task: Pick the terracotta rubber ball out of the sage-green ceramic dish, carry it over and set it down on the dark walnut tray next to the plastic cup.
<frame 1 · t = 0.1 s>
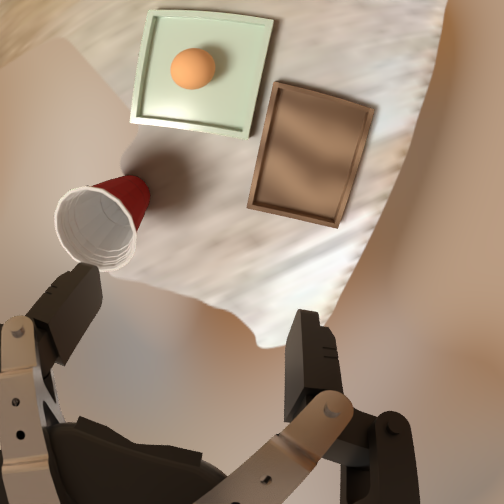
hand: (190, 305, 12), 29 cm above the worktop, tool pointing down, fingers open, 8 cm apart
dish: (199, 69, 32), on the worktop
ball: (198, 69, 31), point 1 cm above the worktop, touching dish
plastic cup: (134, 194, 41), on the worktop
tray: (308, 155, 36), on the worktop
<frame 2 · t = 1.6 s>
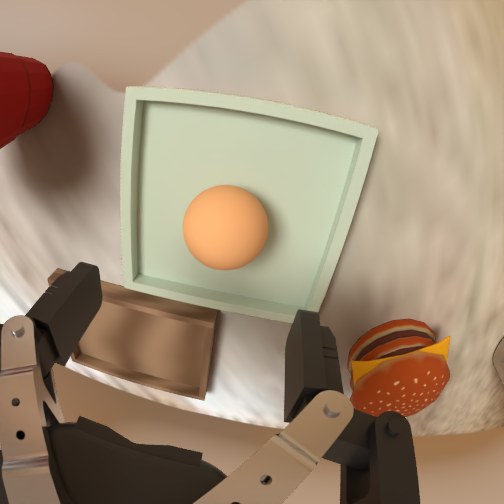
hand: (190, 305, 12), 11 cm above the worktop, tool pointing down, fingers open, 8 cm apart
hamburger: (391, 349, 27), on the worktop
dish: (232, 207, 21), on the worktop
ball: (231, 211, 20), point 1 cm above the worktop, touching dish
plastic cup: (30, 96, 17), on the worktop
tray: (133, 334, 28), on the worktop
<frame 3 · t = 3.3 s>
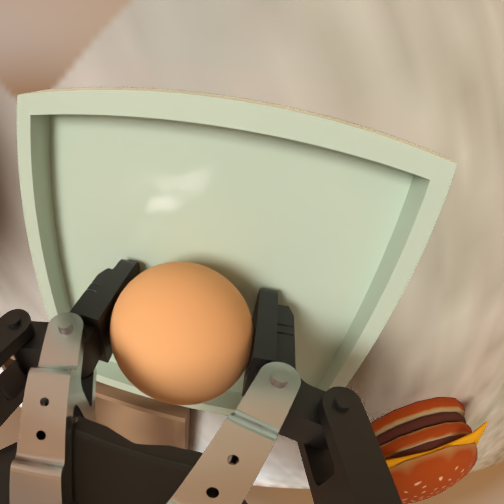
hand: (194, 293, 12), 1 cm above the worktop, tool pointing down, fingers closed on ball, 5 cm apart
hamburger: (411, 424, 19), on the worktop
dish: (199, 282, 13), on the worktop
ball: (196, 290, 12), point 1 cm above the worktop, touching dish, gripper
tray: (95, 404, 20), on the worktop
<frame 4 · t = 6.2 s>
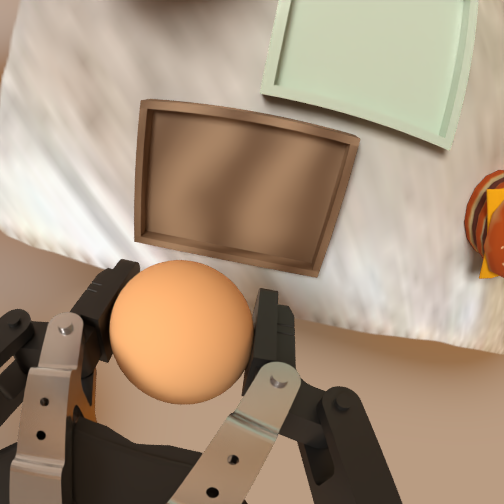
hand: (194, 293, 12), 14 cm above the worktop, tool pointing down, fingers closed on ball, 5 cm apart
hamburger: (496, 210, 23), on the worktop
dish: (378, 29, 17), on the worktop
ball: (196, 289, 12), point 14 cm above the worktop, touching gripper
tray: (237, 184, 24), on the worktop
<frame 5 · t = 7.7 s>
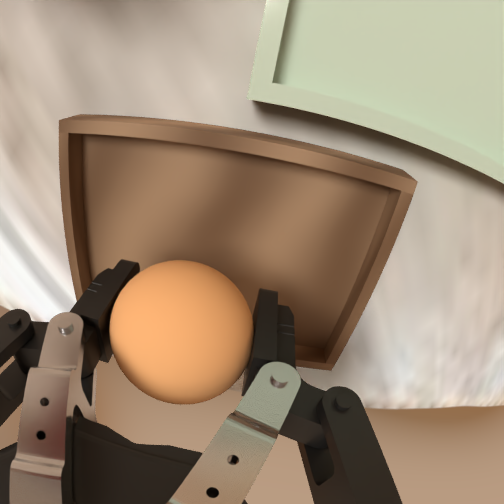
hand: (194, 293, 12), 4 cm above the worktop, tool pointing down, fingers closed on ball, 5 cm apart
dish: (439, 3, 8), on the worktop
ball: (196, 289, 12), point 4 cm above the worktop, touching gripper
tray: (215, 245, 16), on the worktop
when the fingers open (2 cm above the worktop, at t = 9.0 s): ball drops 2 cm, resting on tray.
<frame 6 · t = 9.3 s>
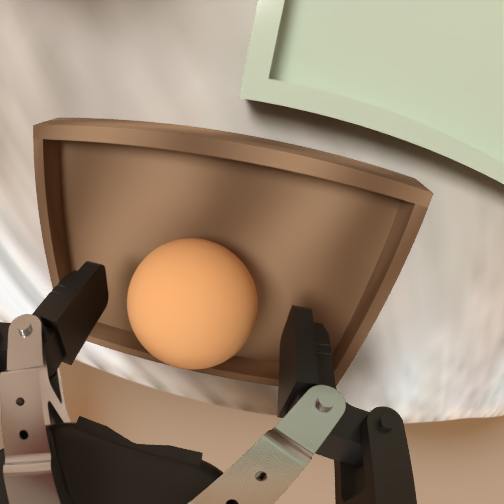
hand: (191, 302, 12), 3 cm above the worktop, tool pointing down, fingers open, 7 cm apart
ball: (205, 268, 14), point 1 cm above the worktop, touching tray
tray: (206, 261, 14), on the worktop
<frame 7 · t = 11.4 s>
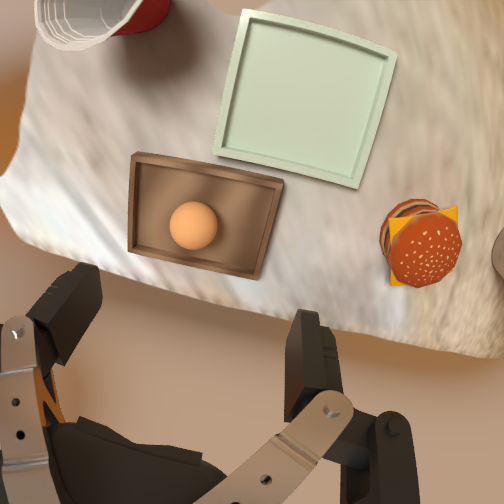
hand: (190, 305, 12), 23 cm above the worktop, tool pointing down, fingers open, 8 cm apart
hamburger: (412, 231, 34), on the worktop
dish: (304, 96, 27), on the worktop
ball: (199, 215, 34), point 1 cm above the worktop, touching tray
plastic cup: (144, 10, 23), on the worktop
tray: (199, 213, 34), on the worktop
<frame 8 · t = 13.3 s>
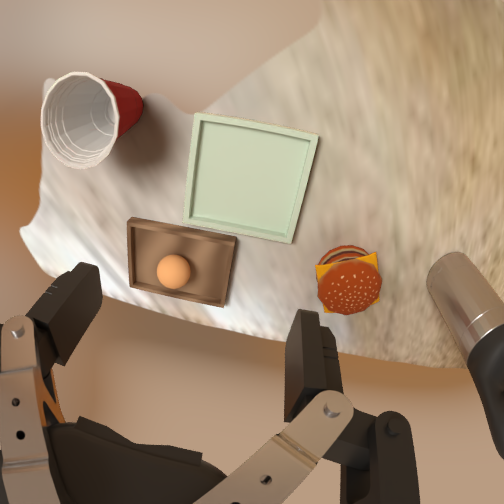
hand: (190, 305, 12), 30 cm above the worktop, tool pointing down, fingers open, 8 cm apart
hamburger: (345, 269, 46), on the worktop
dish: (247, 176, 40), on the worktop
ball: (178, 262, 46), point 1 cm above the worktop, touching tray
plastic cup: (124, 108, 36), on the worktop
tray: (179, 260, 47), on the worktop
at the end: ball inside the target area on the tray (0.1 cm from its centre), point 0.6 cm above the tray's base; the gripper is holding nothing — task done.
